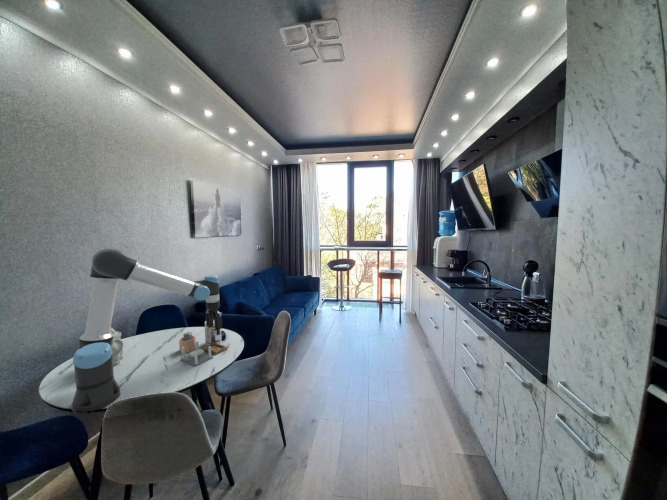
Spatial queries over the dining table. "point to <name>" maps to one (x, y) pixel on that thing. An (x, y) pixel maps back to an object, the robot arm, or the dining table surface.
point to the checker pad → (197, 352)
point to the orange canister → (187, 342)
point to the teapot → (116, 347)
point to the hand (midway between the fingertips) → (214, 338)
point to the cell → (213, 333)
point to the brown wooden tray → (215, 348)
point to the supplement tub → (207, 336)
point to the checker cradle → (196, 359)
